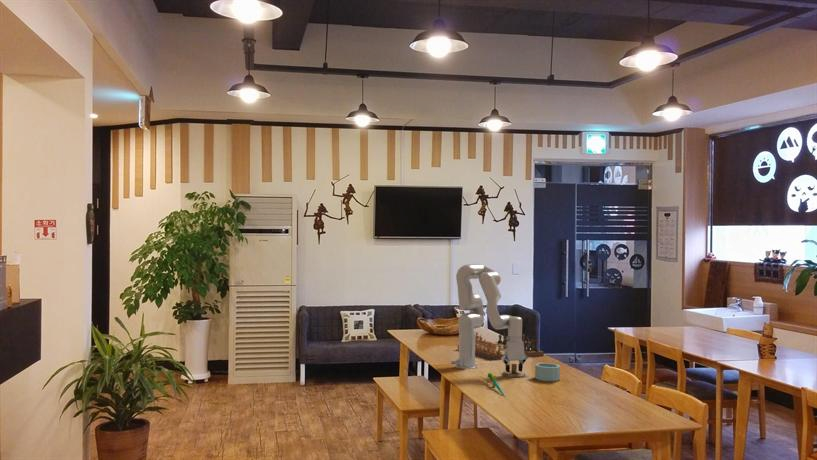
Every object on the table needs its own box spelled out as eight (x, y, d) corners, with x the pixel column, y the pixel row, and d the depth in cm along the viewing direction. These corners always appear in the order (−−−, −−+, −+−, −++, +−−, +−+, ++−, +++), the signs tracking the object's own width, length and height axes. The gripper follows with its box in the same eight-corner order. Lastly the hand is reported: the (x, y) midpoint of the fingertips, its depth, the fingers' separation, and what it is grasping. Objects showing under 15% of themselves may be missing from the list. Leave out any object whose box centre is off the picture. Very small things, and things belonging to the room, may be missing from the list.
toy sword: (492, 368, 356) (508, 390, 327) (491, 380, 357) (507, 402, 328) (487, 368, 356) (502, 390, 326) (486, 380, 357) (501, 402, 327)
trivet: (508, 379, 367) (508, 378, 367) (499, 374, 378) (499, 373, 378) (528, 378, 371) (528, 377, 371) (518, 373, 382) (518, 372, 382)
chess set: (492, 361, 419) (492, 337, 419) (457, 350, 454) (458, 328, 454) (543, 357, 437) (544, 334, 437) (506, 346, 473) (507, 325, 473)
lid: (508, 378, 367) (508, 367, 367) (498, 373, 379) (499, 362, 378) (529, 377, 370) (529, 366, 370) (518, 372, 382) (519, 361, 382)
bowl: (542, 383, 359) (542, 368, 359) (530, 377, 372) (531, 363, 371) (564, 382, 363) (564, 367, 363) (551, 376, 375) (552, 362, 375)
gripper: (503, 340, 368) (502, 373, 368) (532, 340, 373) (531, 372, 374) (497, 338, 375) (496, 370, 375) (525, 337, 381) (525, 369, 381)
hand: (514, 371), depth 374 cm, fingers open, 6 cm apart
